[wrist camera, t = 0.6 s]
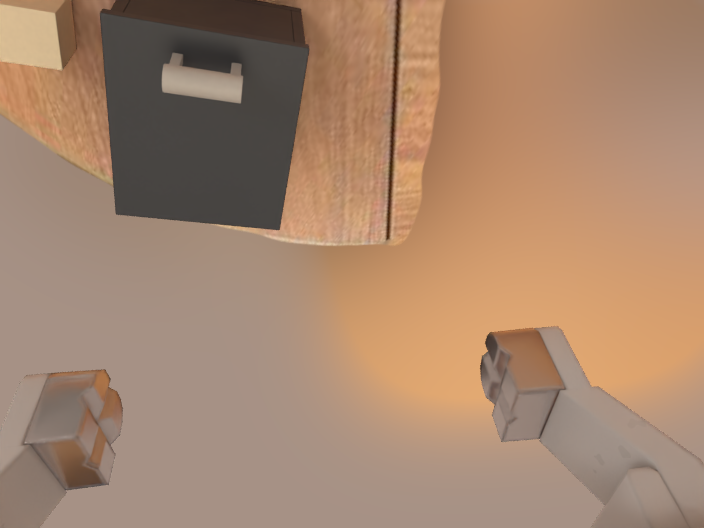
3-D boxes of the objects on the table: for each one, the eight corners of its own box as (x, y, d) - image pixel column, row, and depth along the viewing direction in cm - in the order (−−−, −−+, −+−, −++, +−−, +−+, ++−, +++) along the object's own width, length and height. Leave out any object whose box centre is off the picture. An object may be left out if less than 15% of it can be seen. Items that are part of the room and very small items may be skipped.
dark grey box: (130, -24, 44) (103, 20, 37) (301, 8, 47) (307, 54, 40) (137, 148, 55) (117, 208, 47) (277, 165, 58) (279, 224, 50)
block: (8, -17, 44) (-12, 1, 40) (70, -6, 45) (55, 13, 41) (18, 39, 47) (0, 61, 43) (76, 48, 48) (62, 70, 44)
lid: (102, 8, 37) (83, 37, 33) (309, 44, 40) (313, 74, 36) (117, 209, 47) (104, 248, 44) (279, 225, 50) (280, 262, 47)
